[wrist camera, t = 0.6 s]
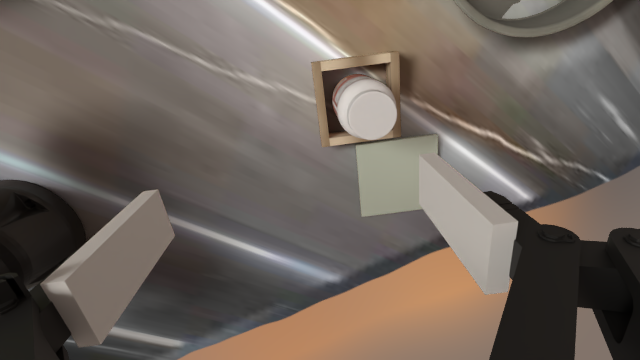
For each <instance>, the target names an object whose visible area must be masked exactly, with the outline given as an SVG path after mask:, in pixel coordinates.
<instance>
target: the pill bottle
mask: <svg viewBox="0 0 640 360" xmlns="http://www.w3.org/2000/svg"><path fill="white" fill-rule="evenodd" d="M332 105H333V109H334V111H335V113H336V115H337V117H338V120H339V122H340V124H341V125H342V127H343V128H344V129H345V130H346V131H347V132H348V133H349V134H350V135H352V136H354V137H357V138H361V139H366V140H376V139H379V138H382V137H384V136H385V135H387V134H388V133H389V132H390V131H391V130H392V128H393V127H394V125H395V122H396V119H397V109H396V101H395V98H394V96H393V93H392V92H391V90H390V89H389V88H388V87H387V86H386V85H385V84H383V83H382V82H380V81H378V80H375V79H373V78H371V77H368V76H366V75H362V74H353V75H349V76H347V77H345V78H343V79H342V80H341V81H340V82H339V83H338V84H337V85H336V87H335V89H334V91H333V95H332Z"/></svg>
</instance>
